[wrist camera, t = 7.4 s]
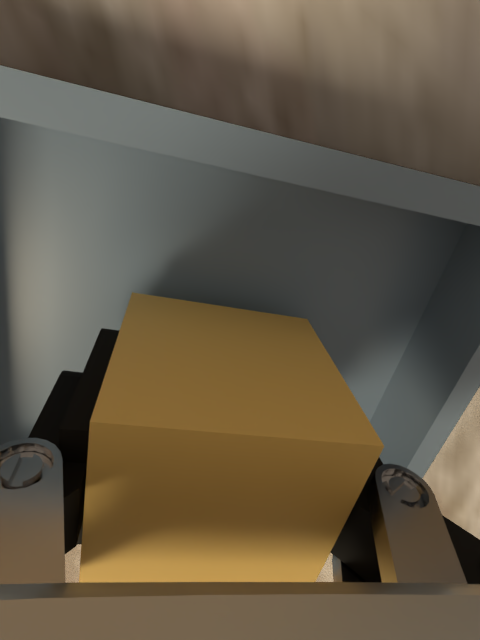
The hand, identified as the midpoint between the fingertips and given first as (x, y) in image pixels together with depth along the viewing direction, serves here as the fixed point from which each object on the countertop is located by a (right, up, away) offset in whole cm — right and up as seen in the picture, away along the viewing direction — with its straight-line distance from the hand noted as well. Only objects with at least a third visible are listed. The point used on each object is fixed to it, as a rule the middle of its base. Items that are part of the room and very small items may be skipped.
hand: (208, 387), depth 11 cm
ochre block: (0, 0, 0) cm, 0 cm away
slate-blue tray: (0, +1, +2) cm, 2 cm away
